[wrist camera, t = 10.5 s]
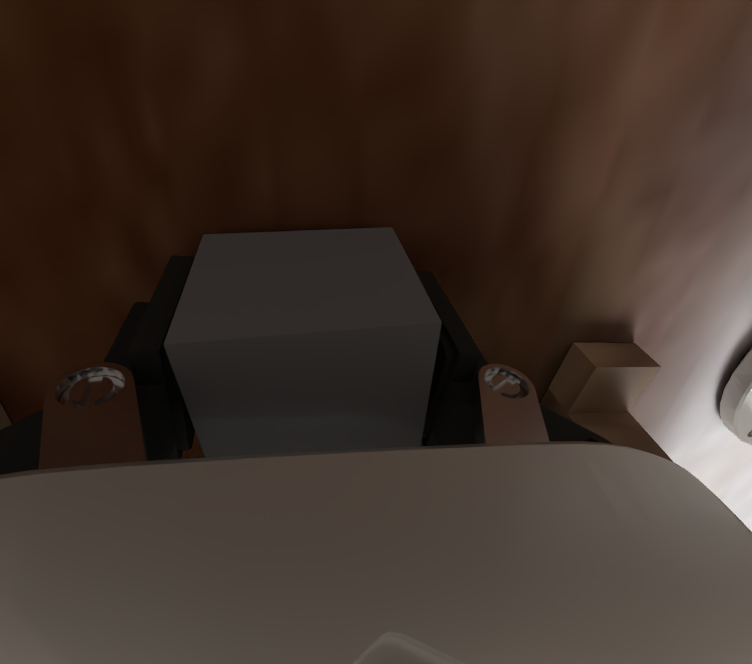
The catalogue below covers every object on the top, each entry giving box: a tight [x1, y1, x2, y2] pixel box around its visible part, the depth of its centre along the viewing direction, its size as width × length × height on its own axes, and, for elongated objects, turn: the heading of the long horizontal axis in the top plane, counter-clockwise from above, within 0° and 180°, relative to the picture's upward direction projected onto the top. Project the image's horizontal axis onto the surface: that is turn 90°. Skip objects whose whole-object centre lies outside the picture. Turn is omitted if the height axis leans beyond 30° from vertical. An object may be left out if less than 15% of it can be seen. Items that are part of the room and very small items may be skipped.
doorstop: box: [163, 227, 442, 458], centre depth 13 cm, size 5×14×4 cm, turn 178°
